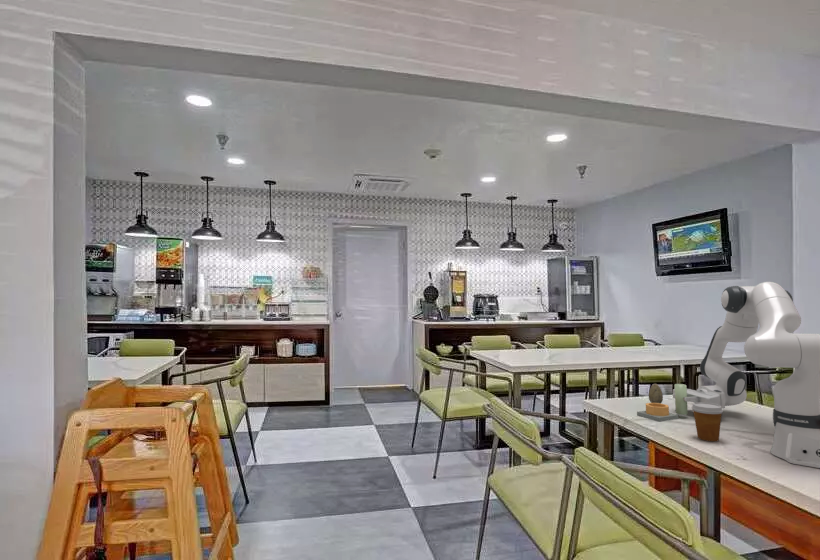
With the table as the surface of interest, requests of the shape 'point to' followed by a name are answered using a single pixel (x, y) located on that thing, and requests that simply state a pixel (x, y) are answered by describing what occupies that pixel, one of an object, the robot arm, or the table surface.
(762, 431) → the table surface
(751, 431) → the table surface
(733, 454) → the table surface
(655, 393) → the decorative egg
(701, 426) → the disposable coffee cup
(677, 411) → the pale green cylinder
